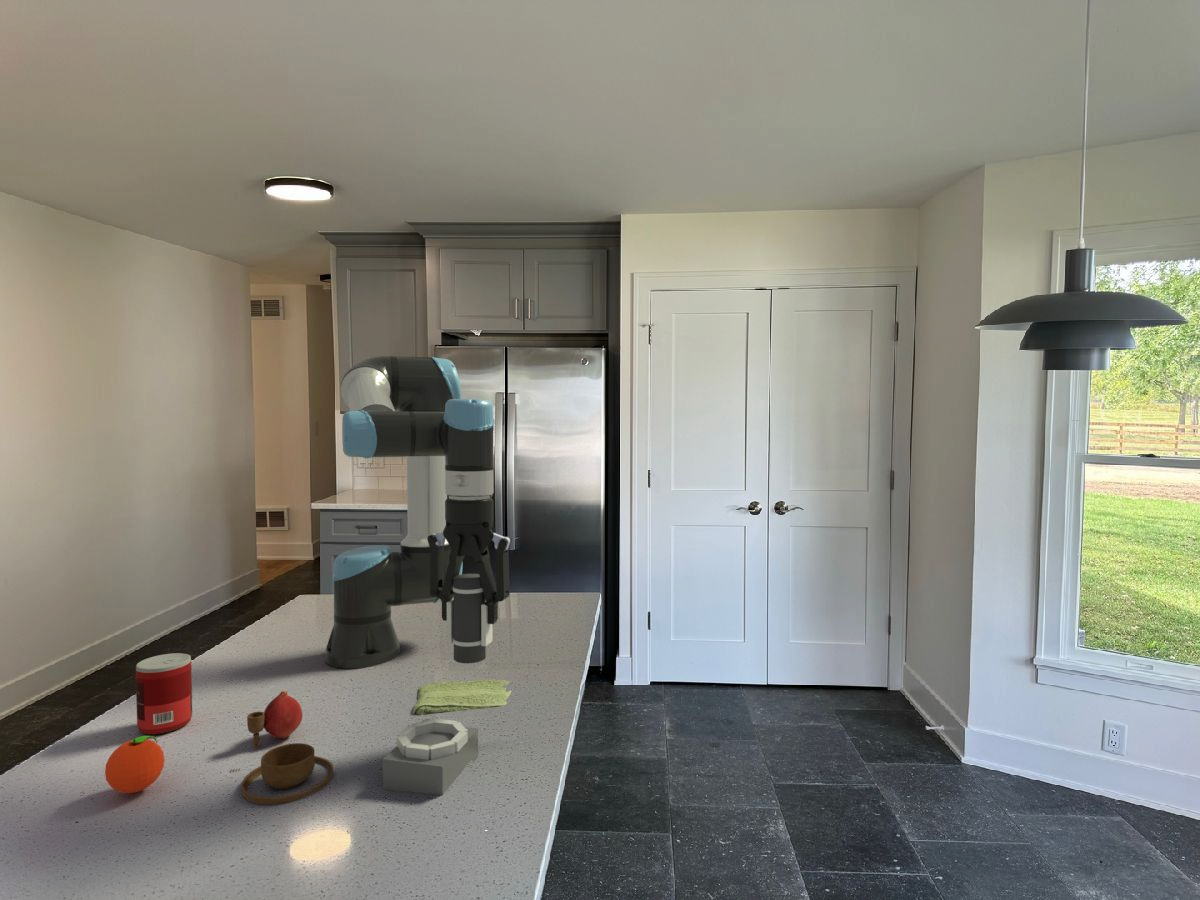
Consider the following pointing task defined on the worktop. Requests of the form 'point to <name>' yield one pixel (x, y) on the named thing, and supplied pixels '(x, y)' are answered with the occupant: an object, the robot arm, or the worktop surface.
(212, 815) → the worktop surface
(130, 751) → the clementine
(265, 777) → the place setting
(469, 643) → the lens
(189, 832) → the worktop surface
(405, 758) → the block with octagonal ring
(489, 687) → the washcloth
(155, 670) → the canned food
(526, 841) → the worktop surface
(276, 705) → the onion
